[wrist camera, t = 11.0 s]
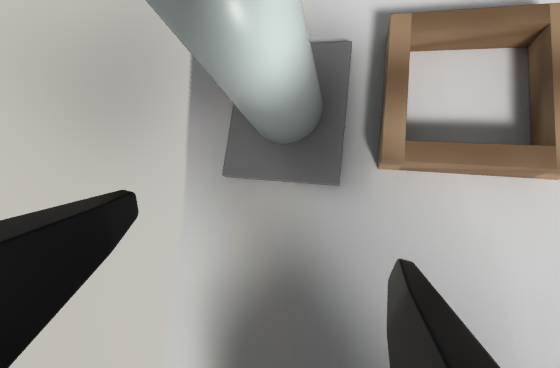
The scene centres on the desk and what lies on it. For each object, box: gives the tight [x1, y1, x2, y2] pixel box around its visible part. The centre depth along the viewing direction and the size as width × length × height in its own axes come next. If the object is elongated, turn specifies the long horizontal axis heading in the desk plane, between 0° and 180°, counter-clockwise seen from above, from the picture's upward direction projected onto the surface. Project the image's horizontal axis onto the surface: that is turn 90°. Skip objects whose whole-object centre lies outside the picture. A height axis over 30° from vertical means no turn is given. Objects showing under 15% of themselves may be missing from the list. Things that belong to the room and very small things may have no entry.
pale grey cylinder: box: [146, 0, 323, 144], centre depth 13 cm, size 5×5×13 cm
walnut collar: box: [378, 3, 560, 180], centre depth 16 cm, size 9×9×2 cm
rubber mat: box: [222, 41, 352, 186], centre depth 20 cm, size 10×8×1 cm
